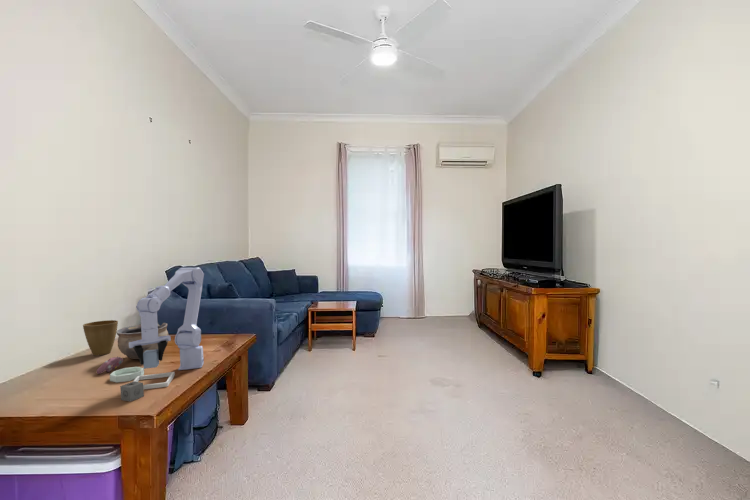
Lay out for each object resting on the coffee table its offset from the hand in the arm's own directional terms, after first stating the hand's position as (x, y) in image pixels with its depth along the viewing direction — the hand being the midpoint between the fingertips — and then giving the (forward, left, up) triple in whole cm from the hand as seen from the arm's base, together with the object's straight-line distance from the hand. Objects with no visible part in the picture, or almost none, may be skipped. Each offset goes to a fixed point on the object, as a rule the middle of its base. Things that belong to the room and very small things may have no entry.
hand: (151, 362), depth 159 cm
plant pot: (+36, -60, -8) cm, 71 cm away
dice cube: (+3, +15, -9) cm, 18 cm away
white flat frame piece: (0, 0, -8) cm, 8 cm away
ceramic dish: (+12, -12, -8) cm, 19 cm away
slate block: (0, 0, -2) cm, 2 cm away
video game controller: (+22, -25, -9) cm, 35 cm away
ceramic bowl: (+13, -43, -8) cm, 46 cm away
